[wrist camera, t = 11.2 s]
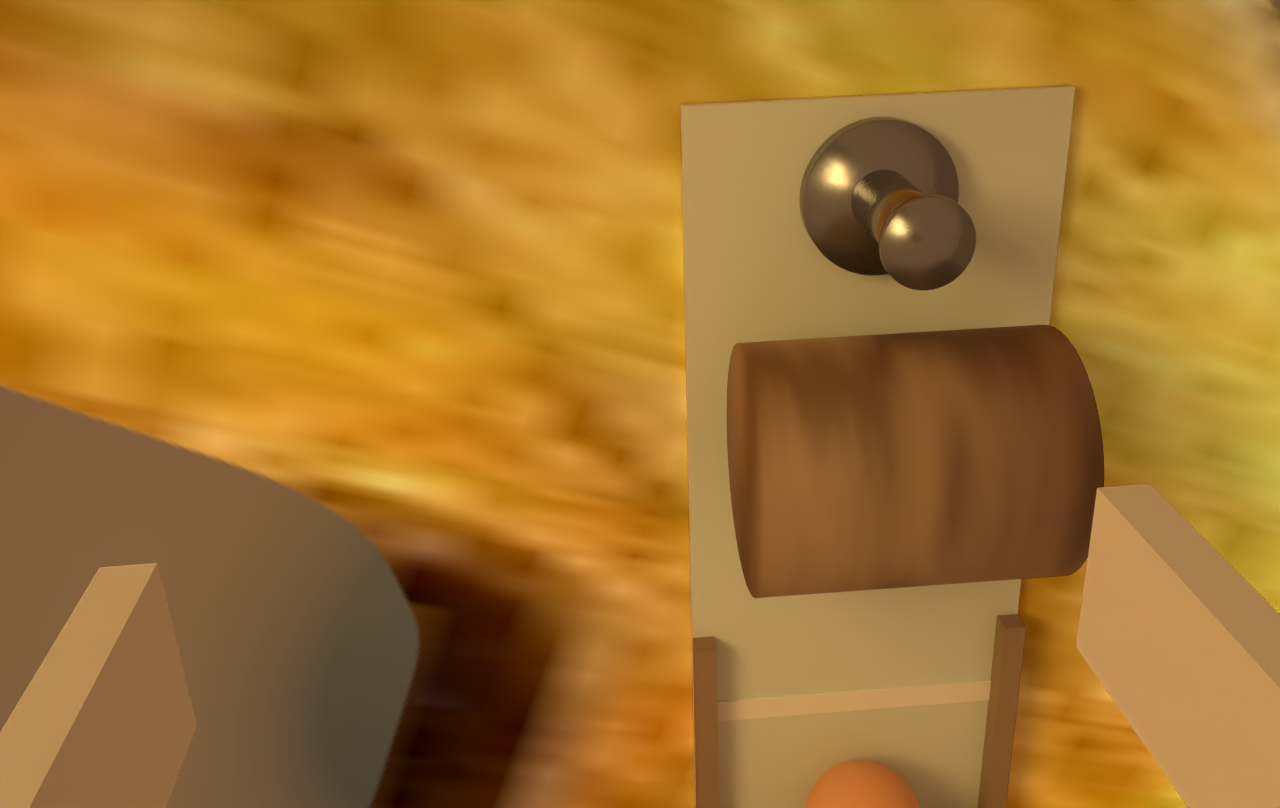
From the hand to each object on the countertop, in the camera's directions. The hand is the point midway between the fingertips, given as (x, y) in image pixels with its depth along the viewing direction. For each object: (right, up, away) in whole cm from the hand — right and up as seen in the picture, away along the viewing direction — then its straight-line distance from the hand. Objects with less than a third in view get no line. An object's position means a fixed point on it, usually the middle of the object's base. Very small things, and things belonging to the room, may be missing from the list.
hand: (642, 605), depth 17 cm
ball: (+9, -13, +34) cm, 38 cm away
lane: (+9, -2, +33) cm, 34 cm away
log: (+9, +3, +30) cm, 32 cm away
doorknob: (+8, +10, +27) cm, 30 cm away
